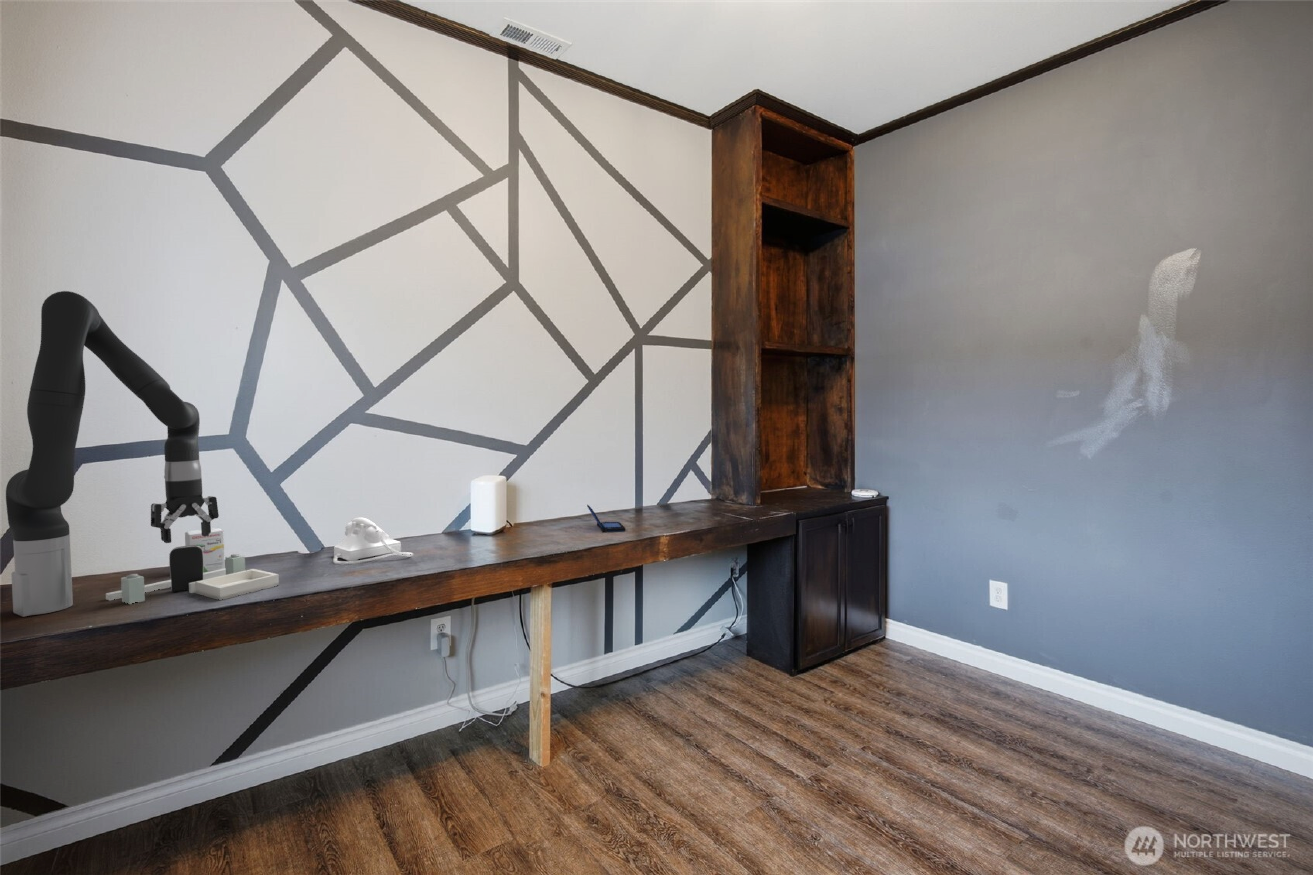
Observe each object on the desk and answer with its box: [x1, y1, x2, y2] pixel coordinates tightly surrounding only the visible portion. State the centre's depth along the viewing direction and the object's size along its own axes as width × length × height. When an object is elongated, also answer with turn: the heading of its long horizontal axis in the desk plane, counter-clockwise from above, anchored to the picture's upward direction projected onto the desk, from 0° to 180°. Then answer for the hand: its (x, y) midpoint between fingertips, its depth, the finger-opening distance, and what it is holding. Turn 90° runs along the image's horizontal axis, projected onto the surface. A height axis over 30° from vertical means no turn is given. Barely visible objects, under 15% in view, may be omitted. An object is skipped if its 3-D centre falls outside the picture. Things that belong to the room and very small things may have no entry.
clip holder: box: [105, 553, 246, 605], centre depth 157 cm, size 28×13×7 cm, turn 152°
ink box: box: [184, 527, 226, 573], centre depth 174 cm, size 8×5×12 cm, turn 138°
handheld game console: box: [586, 504, 626, 533], centre depth 235 cm, size 16×13×9 cm
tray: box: [194, 568, 280, 601], centre depth 156 cm, size 14×12×3 cm
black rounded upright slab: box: [168, 545, 204, 593], centre depth 156 cm, size 7×4×11 cm, turn 126°
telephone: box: [332, 516, 414, 566], centre depth 190 cm, size 25×21×12 cm
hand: (187, 539), depth 156 cm, fingers open, 8 cm apart
